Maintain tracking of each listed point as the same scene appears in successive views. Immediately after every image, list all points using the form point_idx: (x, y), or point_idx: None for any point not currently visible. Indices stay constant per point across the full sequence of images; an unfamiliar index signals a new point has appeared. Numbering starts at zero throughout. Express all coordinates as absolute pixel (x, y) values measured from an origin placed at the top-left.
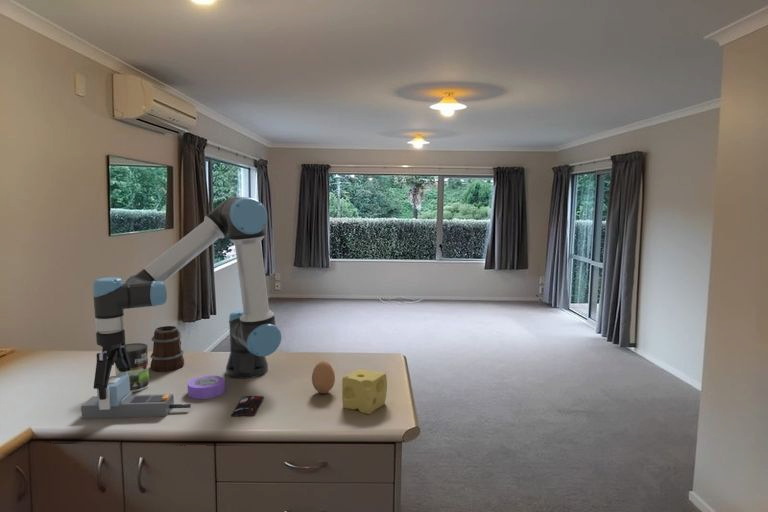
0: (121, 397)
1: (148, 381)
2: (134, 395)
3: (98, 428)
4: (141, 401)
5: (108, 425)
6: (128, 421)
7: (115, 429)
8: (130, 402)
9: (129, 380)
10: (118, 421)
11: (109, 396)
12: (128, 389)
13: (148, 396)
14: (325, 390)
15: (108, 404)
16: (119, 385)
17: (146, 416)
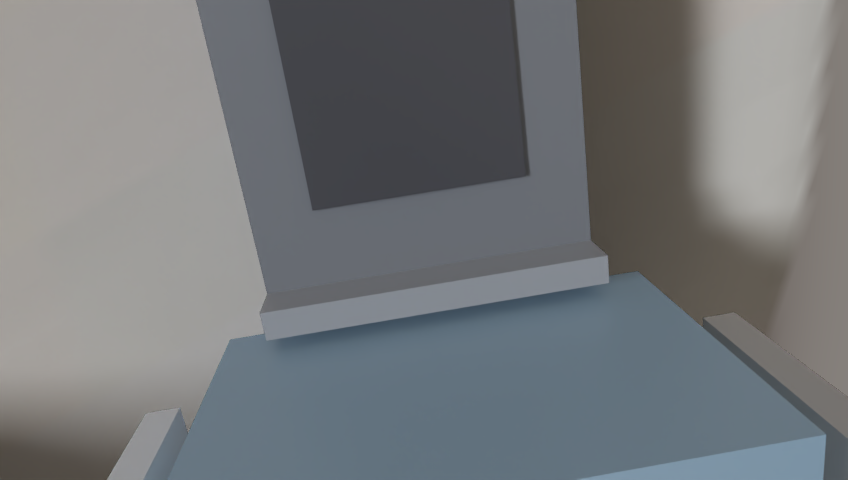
0: (532, 320)
1: None
2: (269, 256)
3: (771, 287)
4: (495, 15)
5: (715, 235)
6: (634, 85)
7: (812, 114)
8: (522, 170)
9: (171, 474)
10: (630, 191)
11: (816, 405)
12: (269, 376)
13: (288, 8)
14: None
15: (776, 347)
16: (665, 438)
17: None
